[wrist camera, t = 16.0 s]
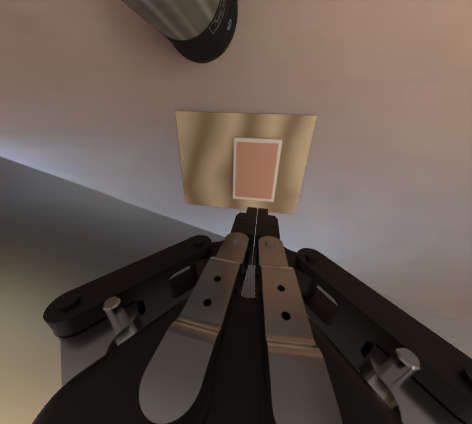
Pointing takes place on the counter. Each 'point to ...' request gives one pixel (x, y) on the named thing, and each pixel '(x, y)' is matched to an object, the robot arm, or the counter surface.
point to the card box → (256, 168)
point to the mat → (222, 156)
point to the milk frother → (192, 24)
